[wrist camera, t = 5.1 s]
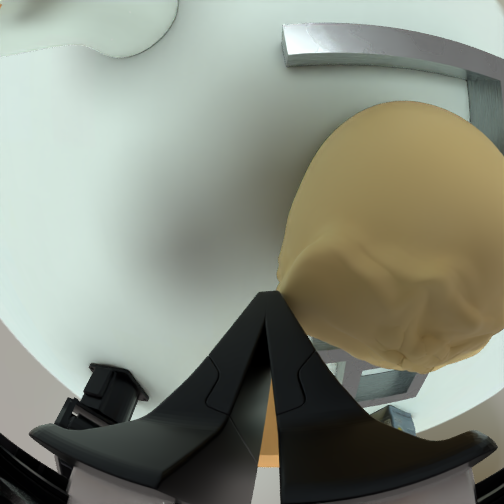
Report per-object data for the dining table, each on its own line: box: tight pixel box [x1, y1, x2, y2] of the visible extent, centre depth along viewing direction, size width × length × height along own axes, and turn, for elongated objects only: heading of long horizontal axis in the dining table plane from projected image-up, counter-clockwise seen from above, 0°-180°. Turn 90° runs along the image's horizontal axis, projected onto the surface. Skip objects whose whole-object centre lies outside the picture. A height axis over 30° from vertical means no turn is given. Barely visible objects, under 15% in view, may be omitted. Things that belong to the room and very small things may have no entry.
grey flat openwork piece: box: [282, 23, 504, 408], centre depth 16 cm, size 29×14×4 cm, turn 9°
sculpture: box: [276, 101, 504, 374], centre depth 11 cm, size 12×12×11 cm
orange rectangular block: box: [258, 379, 279, 467], centre depth 21 cm, size 4×4×9 cm
